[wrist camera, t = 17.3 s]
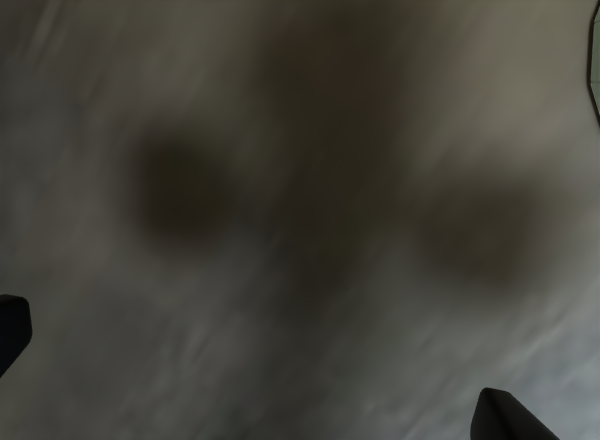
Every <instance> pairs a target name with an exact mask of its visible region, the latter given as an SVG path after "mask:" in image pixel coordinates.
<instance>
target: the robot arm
mask: <svg viewBox="0 0 600 440" xmlns="http://www.w3.org/2000/svg"><path fill="white" fill-rule="evenodd" d="M31 337H32V324H31V316H30V308H29V303H28V301H27V300H26V299H25V298H23V297H19V296H14V295H8V294H4V295H0V378H1V377H2V375H3V374H4V373H5V372H6V371H7V369H8V368H9V367H10V366H11V365H12V363H13V362H14V361H15V360H16V359H17V357H18V356H19V355H20V354H21V353H22V351H23V350H24V349H25V348H26V347H27V345H28V344H29V342H30V340H31ZM470 438H471V440H560V439H559V438H558V437H557V436H556V435H554V434H553V433H552V432H551V431H550V430H549V429H548V428H547V427H546V426H545V425H544V424H543V423H542V422H540V421H539V420H538V419H537V418H536V417H535V416H534V415H533V414H532V413H531V412H530V411H529V410H527V409H526V408H525V407H524V406H523V405H522V404H521V403H520V402H519V401H518V400H517V399H516V398H515V397H513V396H512V395H511V394H510V393H509V392H507V391H503V390H498V389H492V388H484V389H482V391H481V392H480V395H479V399H478V402H477V405H476V409H475V412H474V416H473V419H472V423H471V430H470Z"/></svg>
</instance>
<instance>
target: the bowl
mask: <svg viewBox="0 0 600 440" xmlns="http://www.w3.org/2000/svg"><path fill="white" fill-rule="evenodd" d="M594 22H595V24H594V33H593V49H592V66H591V83H590V84H591V88H592V91H593V94H594V98H595V101H596V105H597V108H598V111H599V115H600V7H599V10H598V13H597V15H596V18H595V20H594Z"/></svg>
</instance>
